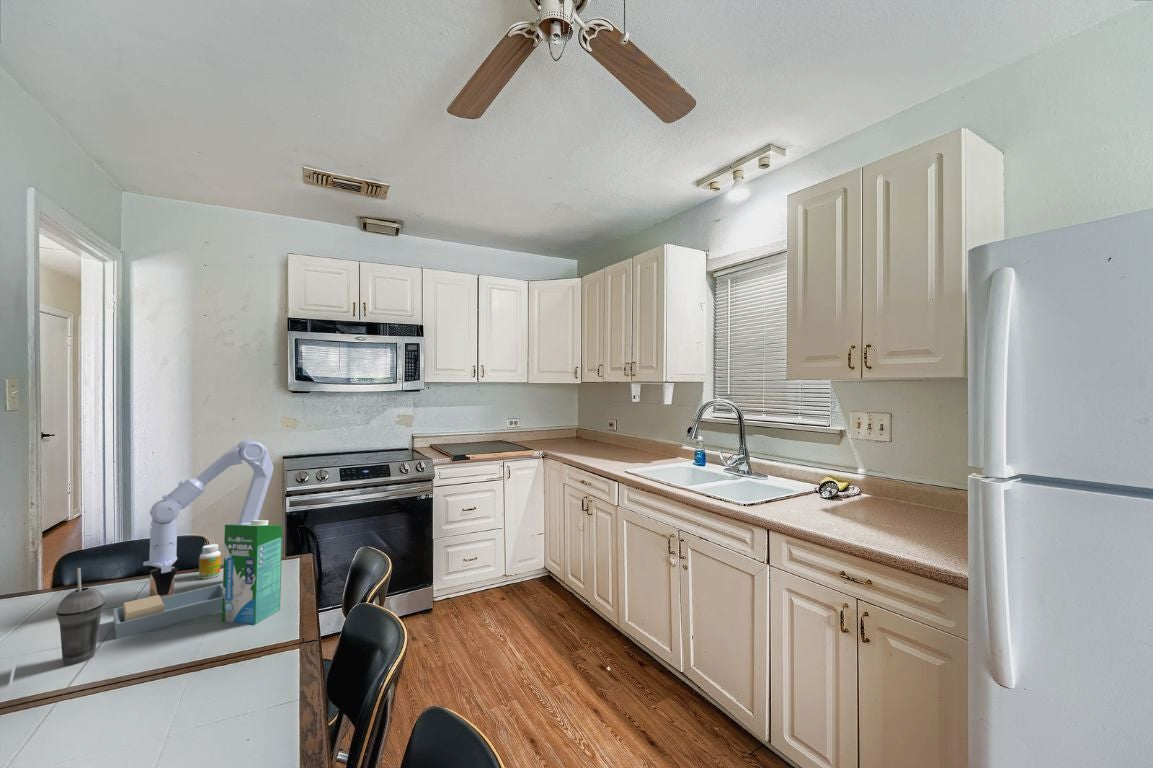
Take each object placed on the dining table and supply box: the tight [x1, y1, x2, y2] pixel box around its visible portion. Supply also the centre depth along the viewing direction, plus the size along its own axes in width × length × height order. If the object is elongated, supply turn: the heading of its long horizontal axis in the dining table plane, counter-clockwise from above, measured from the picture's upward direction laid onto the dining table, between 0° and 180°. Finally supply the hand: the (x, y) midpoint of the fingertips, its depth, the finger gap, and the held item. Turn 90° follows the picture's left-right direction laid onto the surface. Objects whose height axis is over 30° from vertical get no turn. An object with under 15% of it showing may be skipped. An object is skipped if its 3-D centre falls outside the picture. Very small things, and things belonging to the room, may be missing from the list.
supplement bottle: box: [198, 543, 222, 580], centre depth 150 cm, size 5×5×10 cm
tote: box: [112, 583, 223, 640], centre depth 121 cm, size 22×12×4 cm, turn 137°
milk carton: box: [221, 519, 283, 626], centre depth 122 cm, size 9×9×25 cm
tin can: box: [148, 565, 175, 598], centre depth 131 cm, size 5×5×9 cm
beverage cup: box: [55, 567, 106, 666], centre depth 101 cm, size 7×7×20 cm
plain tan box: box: [122, 595, 164, 622], centre depth 117 cm, size 7×9×5 cm
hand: (161, 592), depth 130 cm, fingers closed on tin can, 5 cm apart
